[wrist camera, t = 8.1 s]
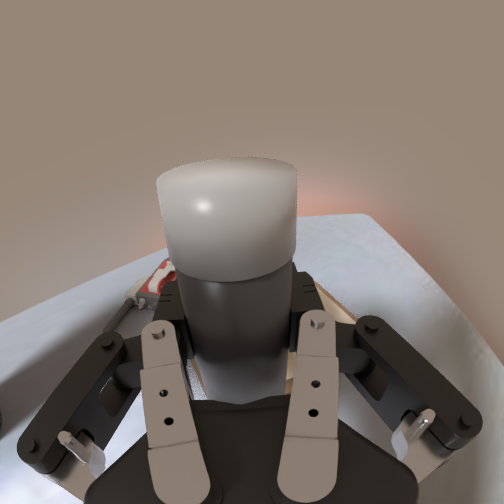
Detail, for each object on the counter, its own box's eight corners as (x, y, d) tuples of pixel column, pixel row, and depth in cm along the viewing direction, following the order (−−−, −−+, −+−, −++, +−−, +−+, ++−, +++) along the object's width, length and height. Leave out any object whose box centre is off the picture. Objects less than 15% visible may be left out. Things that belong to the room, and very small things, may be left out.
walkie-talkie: (161, 266, 55) (102, 338, 38) (156, 245, 52) (91, 315, 36) (203, 270, 53) (152, 352, 36) (200, 248, 51) (142, 328, 34)
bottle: (228, 455, 13) (169, 206, 6) (202, 399, 16) (149, 170, 10) (298, 426, 14) (326, 177, 8) (265, 377, 18) (258, 152, 11)
